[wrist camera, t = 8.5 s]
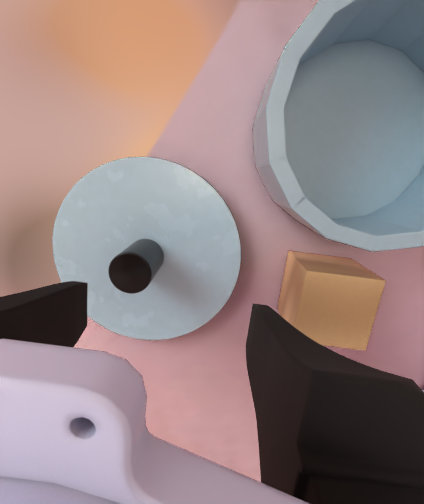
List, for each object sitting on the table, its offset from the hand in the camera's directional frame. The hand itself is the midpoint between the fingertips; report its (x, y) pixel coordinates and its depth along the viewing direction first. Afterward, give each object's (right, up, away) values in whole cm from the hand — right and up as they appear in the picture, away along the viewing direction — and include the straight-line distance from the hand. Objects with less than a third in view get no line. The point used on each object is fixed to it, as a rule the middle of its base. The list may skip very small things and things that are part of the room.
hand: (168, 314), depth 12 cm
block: (+9, 0, +8) cm, 12 cm away
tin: (+10, +10, +6) cm, 15 cm away
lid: (-2, +2, +7) cm, 8 cm away
